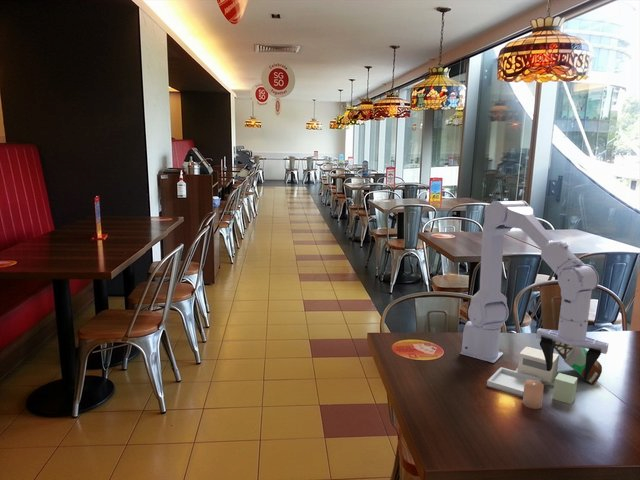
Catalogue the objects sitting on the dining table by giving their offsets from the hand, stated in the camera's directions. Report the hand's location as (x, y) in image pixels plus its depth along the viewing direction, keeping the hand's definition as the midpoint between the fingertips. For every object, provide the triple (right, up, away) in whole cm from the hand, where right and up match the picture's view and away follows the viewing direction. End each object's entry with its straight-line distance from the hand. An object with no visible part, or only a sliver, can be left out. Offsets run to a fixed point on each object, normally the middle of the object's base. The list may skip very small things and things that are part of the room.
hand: (567, 374), depth 113 cm
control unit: (-2, -4, +12) cm, 13 cm away
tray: (-9, -5, +7) cm, 13 cm away
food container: (+13, -2, +12) cm, 18 cm away
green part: (0, -6, +1) cm, 6 cm away
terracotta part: (-9, -6, -2) cm, 11 cm away
